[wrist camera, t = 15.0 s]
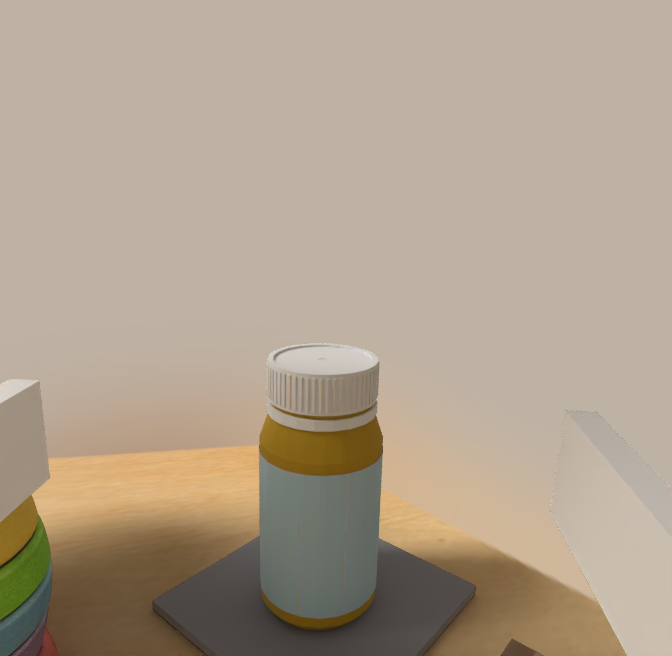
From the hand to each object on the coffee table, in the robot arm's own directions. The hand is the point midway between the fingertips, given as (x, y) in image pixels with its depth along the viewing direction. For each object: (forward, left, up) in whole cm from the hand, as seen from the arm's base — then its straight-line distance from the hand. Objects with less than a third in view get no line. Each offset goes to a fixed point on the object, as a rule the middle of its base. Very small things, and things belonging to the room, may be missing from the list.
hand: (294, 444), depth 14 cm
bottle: (-10, +13, -18) cm, 24 cm away
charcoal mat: (-10, +13, -18) cm, 24 cm away
